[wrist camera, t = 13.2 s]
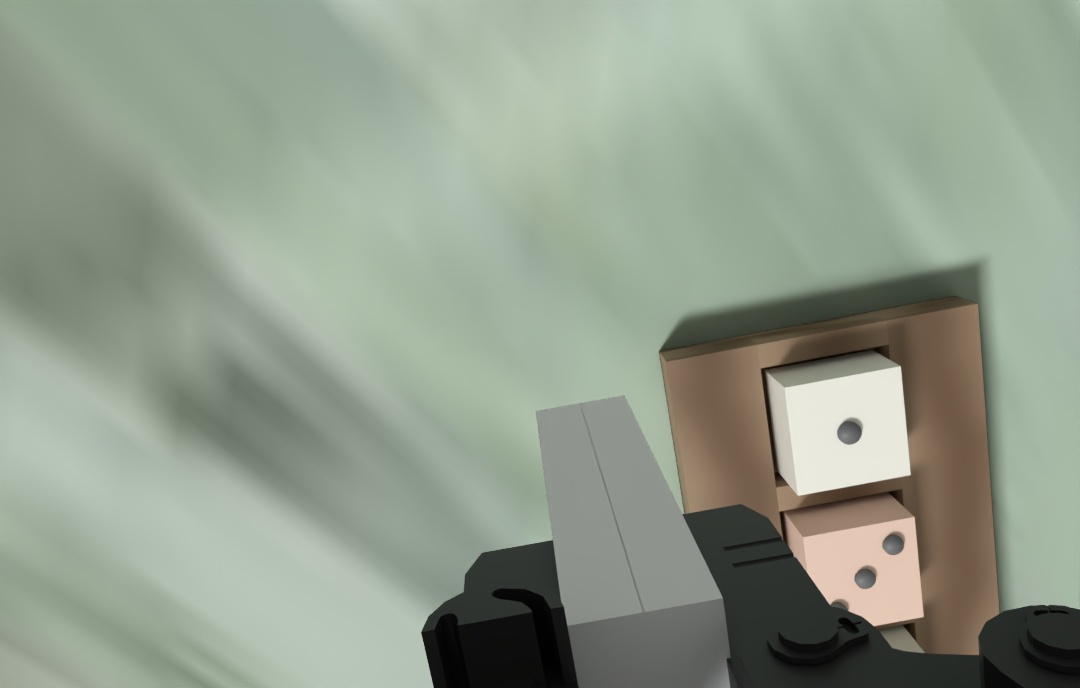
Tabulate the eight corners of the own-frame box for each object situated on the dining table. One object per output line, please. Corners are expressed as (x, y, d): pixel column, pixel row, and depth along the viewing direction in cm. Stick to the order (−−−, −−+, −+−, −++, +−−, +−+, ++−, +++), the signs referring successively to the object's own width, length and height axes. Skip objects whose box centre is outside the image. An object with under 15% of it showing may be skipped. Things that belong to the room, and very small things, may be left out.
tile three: (794, 602, 43) (816, 639, 39) (782, 509, 41) (804, 539, 38) (895, 584, 42) (925, 619, 39) (886, 490, 41) (916, 518, 38)
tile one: (777, 470, 41) (799, 497, 38) (764, 369, 40) (786, 389, 37) (882, 451, 41) (912, 476, 38) (872, 349, 40) (902, 367, 37)
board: (722, 752, 46) (731, 779, 44) (658, 351, 41) (666, 361, 39) (986, 704, 45) (1007, 729, 43) (955, 295, 40) (978, 303, 38)
